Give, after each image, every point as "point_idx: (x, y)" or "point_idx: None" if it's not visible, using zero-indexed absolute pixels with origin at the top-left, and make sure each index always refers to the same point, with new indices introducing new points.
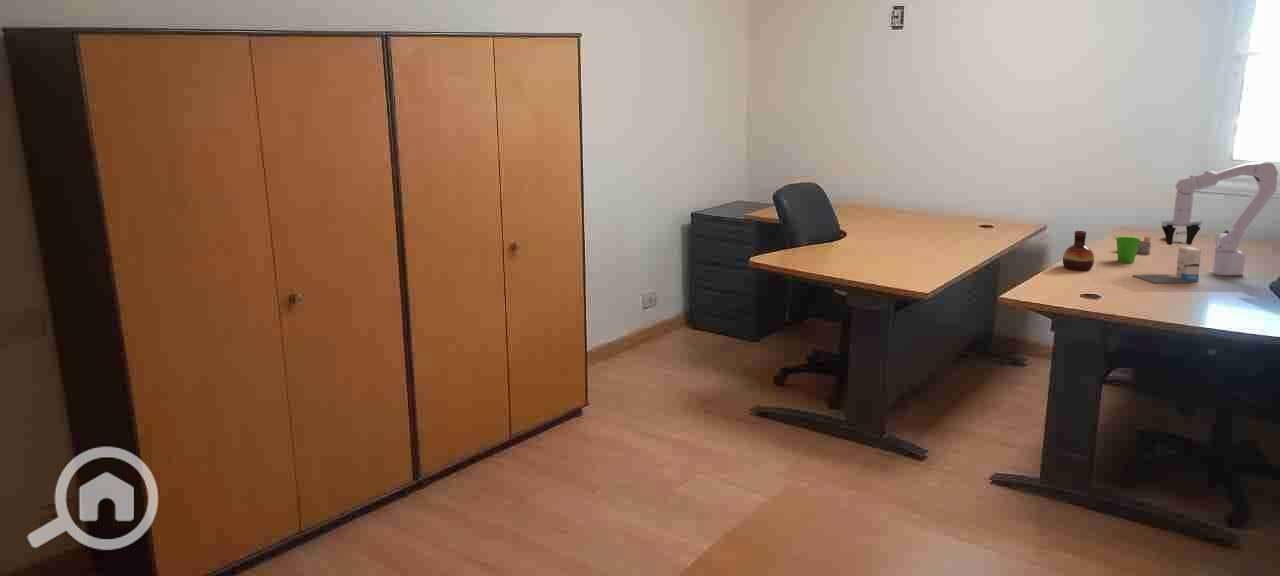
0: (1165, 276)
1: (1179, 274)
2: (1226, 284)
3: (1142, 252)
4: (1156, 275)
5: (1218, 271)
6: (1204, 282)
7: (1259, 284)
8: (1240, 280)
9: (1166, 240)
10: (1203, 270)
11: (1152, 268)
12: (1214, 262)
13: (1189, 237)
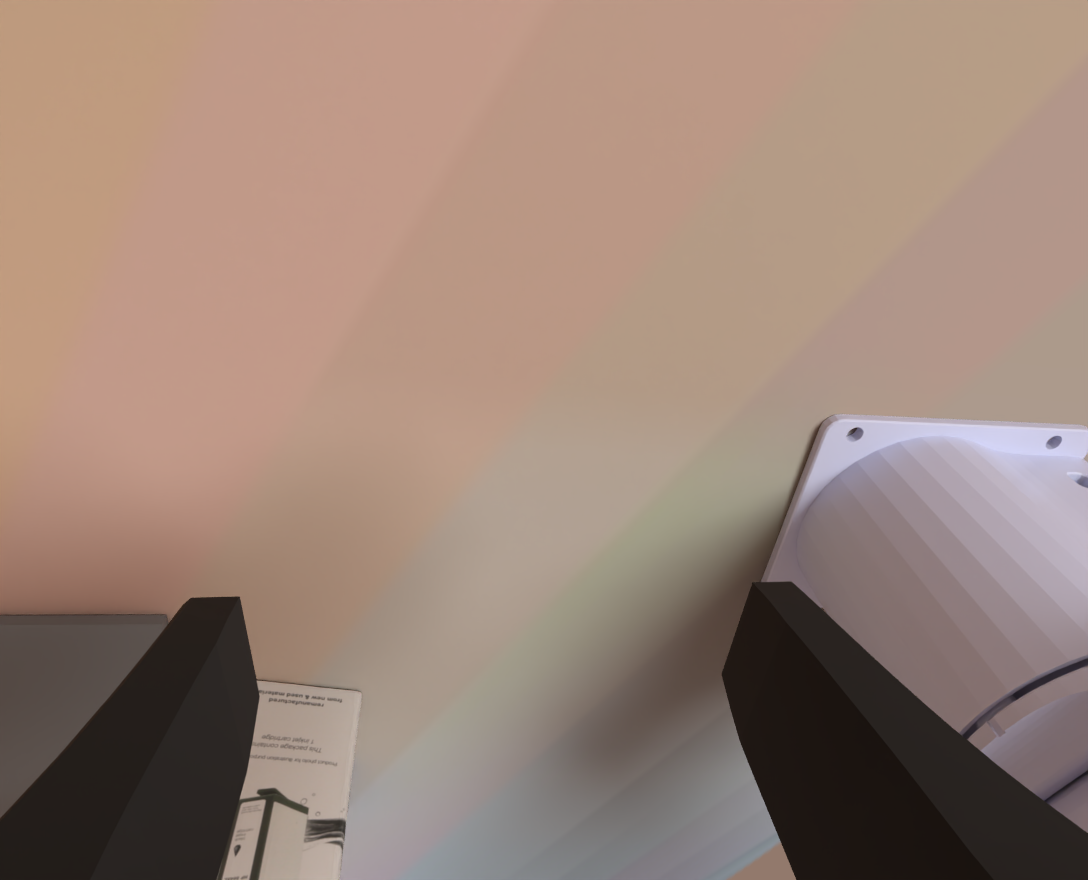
0: (98, 696)
1: None
2: (481, 872)
3: None
4: (7, 655)
5: (806, 578)
6: (364, 831)
7: (705, 862)
8: (709, 773)
9: (124, 684)
10: (861, 339)
11: (210, 57)
12: (864, 594)
13: (825, 816)
